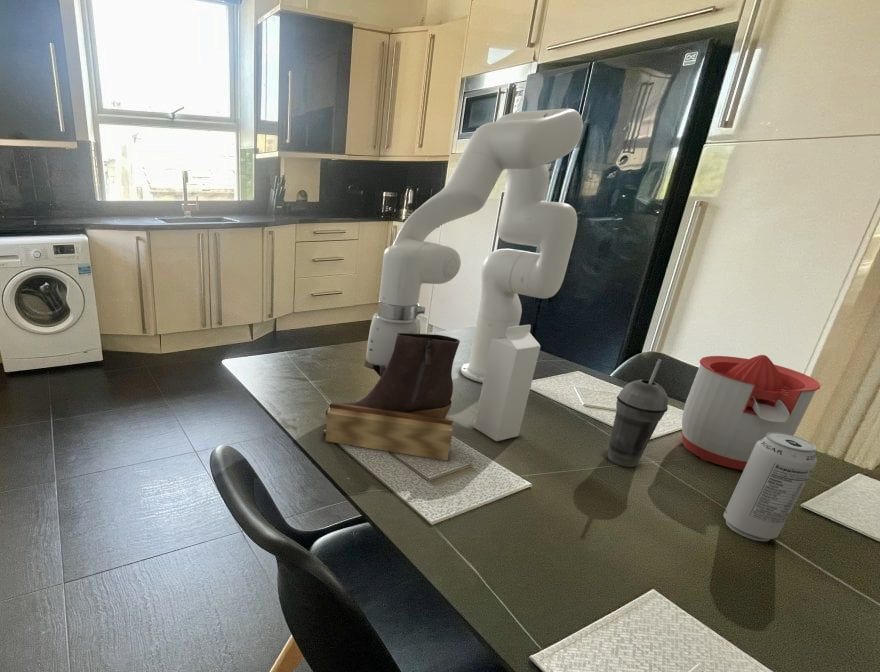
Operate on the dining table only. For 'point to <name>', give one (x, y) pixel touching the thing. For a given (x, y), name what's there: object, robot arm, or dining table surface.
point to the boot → (416, 377)
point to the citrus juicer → (742, 406)
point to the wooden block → (389, 430)
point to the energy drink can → (770, 485)
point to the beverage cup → (636, 419)
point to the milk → (507, 383)
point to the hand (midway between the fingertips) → (386, 395)
